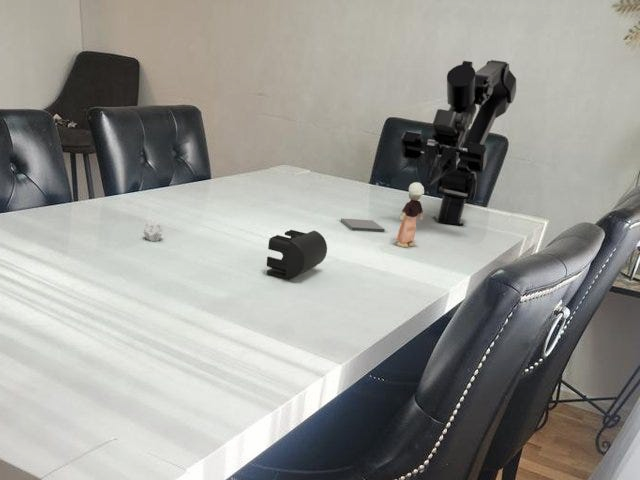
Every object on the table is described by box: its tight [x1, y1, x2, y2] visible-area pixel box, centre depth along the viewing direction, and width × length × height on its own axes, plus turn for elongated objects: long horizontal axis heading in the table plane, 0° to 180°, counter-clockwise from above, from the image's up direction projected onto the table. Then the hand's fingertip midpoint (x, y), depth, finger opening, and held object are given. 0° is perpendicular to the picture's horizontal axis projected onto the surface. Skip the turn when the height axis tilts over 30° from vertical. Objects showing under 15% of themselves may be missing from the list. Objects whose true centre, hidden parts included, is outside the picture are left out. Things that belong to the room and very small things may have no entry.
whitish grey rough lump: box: [143, 221, 164, 242], centre depth 121 cm, size 4×4×3 cm
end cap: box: [266, 229, 328, 281], centre depth 113 cm, size 10×7×7 cm
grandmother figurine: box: [395, 181, 425, 248], centre depth 137 cm, size 8×4×13 cm, turn 144°
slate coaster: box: [340, 218, 386, 233], centre depth 151 cm, size 8×8×1 cm
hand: (428, 183), depth 140 cm, fingers closed
